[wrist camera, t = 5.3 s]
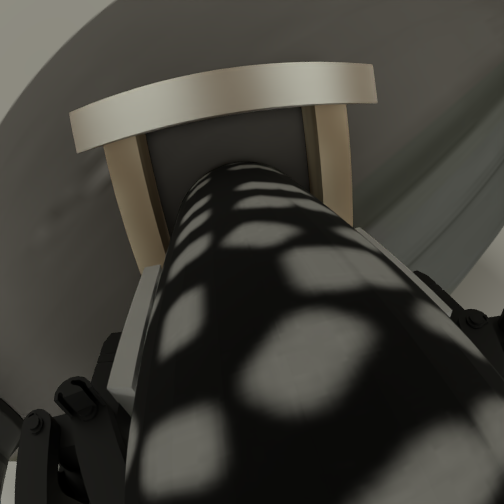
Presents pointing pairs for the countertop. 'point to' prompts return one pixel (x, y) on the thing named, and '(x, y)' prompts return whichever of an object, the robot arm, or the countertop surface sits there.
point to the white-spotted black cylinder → (302, 365)
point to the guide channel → (218, 105)
